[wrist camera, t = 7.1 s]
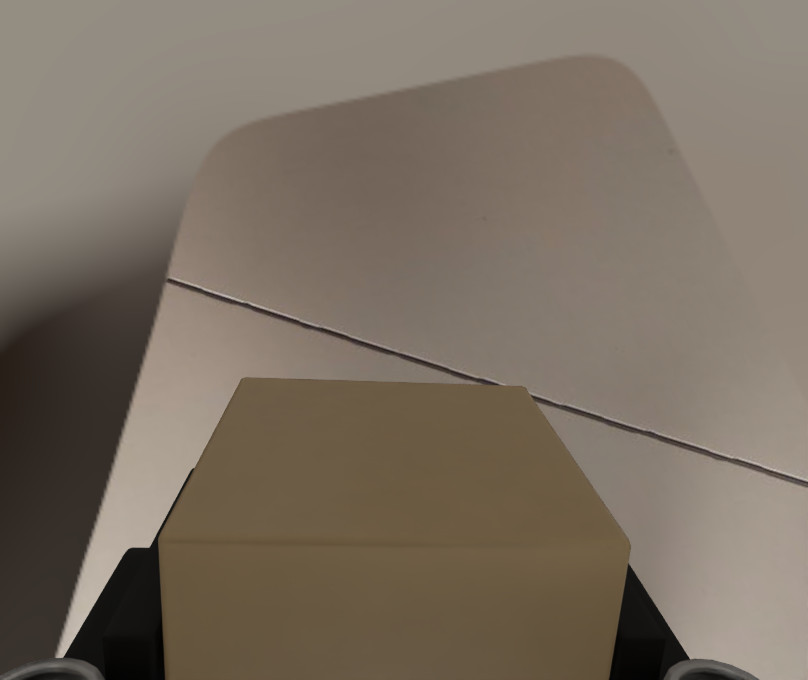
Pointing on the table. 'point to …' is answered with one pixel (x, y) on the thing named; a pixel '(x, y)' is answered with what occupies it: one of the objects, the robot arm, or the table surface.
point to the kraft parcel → (388, 541)
